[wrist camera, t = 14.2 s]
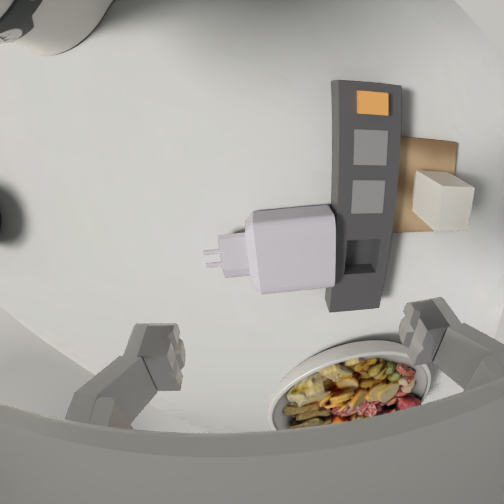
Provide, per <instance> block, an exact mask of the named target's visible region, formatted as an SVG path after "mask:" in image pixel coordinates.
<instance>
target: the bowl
mask: <svg viewBox="0 0 504 504" xmlns="http://www.w3.org/2000/svg"><path fill="white" fill-rule="evenodd" d="M408 349H409V348H407V347H405V346H404V345H403V344H399V343H396V342H391V341H383V340H368V341H359V342H353V343H348V344H344V345H340V346H337V347H334V348H331V349H328V350H326V351H323V352H321V353H319V354H317V355H315V356H313V357H311V358H309V359H307V360H305V361H304V362H302V363H301V364H299V365H298V366H296V367H295V368H294V369H293V370H291V371H290V372H289V373H288V374H287V375H286V376H285V377H284V378H283V379H282V380H281V381H280V383H279V384H278V385H277V387H276V388H275V390H274V392H273V394H272V396H271V399H270V402H269V407H268V420H269V424H270V426H271V428H272V429H273V431H275V430H287V429H297V428H306V427H314V426H321V425H328V424H335V423H341V422H347V421H353V420H358V419H363V418H369V417H373V416H378V415H383V414H387V413H391V412H396V411H400V410H404V409H408V408H412V407H415V406H419V405H421V403H422V402H423V400H424V399H425V397H426V395H427V393H428V391H429V388H430V384H431V373H430V370H429V368H428V366H427V364H422V365H417V366H413V365H412V362H411V360H410V358H409V356H408V354H407V352H408Z"/></svg>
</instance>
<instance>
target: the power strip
mask: <svg viewBox="0 0 504 504" xmlns="http://www.w3.org/2000/svg"><path fill="white" fill-rule="evenodd" d="M331 89H332V192H331V211H332V212H333V214H334V216H335V224H336V264H335V285H334V287H326V295H325V300H326V303H327V306H328V310H329V312H340V311H352V310H362V309H373V308H379V305H380V301H381V296H382V291H383V285H384V280H385V275H386V269H387V263H388V257H389V250H390V244H391V237H392V230H393V222H394V214H395V205H396V196H397V185H398V173H399V159H400V141H401V86H400V85H392V84H383V83H373V82H362V81H348V80H334V81H331Z"/></svg>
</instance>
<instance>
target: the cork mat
mask: <svg viewBox="0 0 504 504" xmlns="http://www.w3.org/2000/svg"><path fill="white" fill-rule="evenodd" d="M456 153H457V143H456V142H451V141H443V140H434V139H424V138H413V137H401V141H400V159H399V173H398V185H397V196H396V205H395V214H394V222H393V230H392V233H397V232H426V231H434V230H433V229H432V228H430V227H429V226H428V225H427V224H426V223H425V222H424V221H423V220H422V219H421V218H419V217H418V216H417V215H416V214H415V213H414V212H413V211H412V207H413V202H412V196H413V187H414V177H415V173H416V170H420V171H440V172H448V173H450V174H452V175H454V172H455V163H456Z"/></svg>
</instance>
